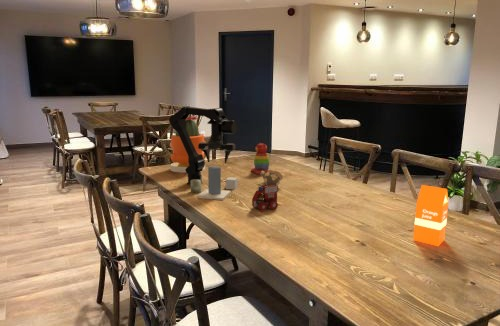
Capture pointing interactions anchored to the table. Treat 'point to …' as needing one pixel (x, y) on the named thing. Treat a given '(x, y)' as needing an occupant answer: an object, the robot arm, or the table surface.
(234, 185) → the white cube
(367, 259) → the table surface
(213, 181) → the tall block
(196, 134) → the potted cactus
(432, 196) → the orange juice
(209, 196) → the plate
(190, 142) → the robot arm
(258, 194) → the toy fire truck
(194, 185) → the sage cylinder
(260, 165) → the stacking bear
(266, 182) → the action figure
